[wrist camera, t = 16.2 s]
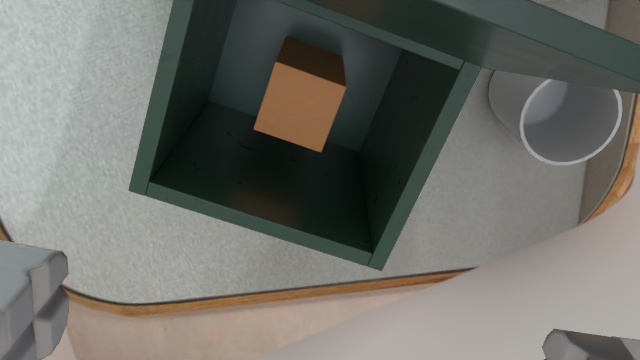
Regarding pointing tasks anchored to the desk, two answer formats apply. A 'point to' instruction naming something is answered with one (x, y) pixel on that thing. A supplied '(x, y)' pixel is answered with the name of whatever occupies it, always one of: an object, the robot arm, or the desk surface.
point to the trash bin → (286, 157)
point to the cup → (555, 115)
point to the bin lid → (507, 38)
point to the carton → (302, 95)
